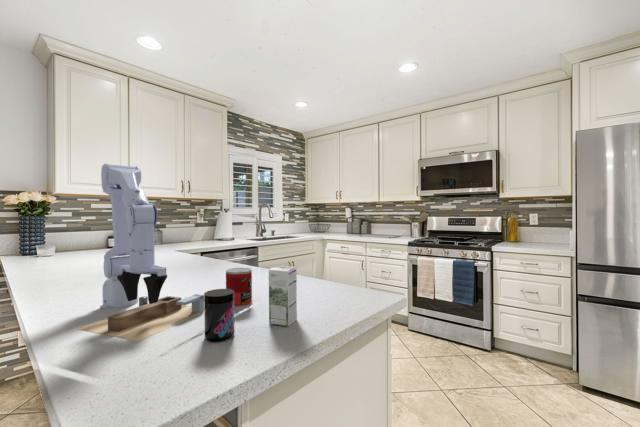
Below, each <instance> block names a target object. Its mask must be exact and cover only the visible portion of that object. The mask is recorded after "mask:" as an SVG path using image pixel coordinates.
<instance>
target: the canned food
mask: <svg viewBox="0 0 640 427" xmlns="http://www.w3.org/2000/svg"><path fill="white" fill-rule="evenodd" d="M252 276H253V275H252V268H249V267H232V268H227V269H226V270H225V289H232V290H234V307H241V306H247V305H249V304H251V303H252V302H253V293H252V292H253V289H252V288H253V279H252V278H253V277H252Z"/></svg>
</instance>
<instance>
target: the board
mask: <svg viewBox="0 0 640 427" xmlns="http://www.w3.org/2000/svg"><path fill="white" fill-rule="evenodd" d="M181 306H182V308H181V309H179V310H176V311H174V312H171V313H169V314H163V315H160V316H158V317H155V318H153V319H150V320H148V321H145V322H143V323H140V324H138V325H135V326H132V327H130V328H127V329H125V330H122V331H120V332H114V331H109V330H108V317H107V318H105V319H102V320H98V321H96V322H92V323H90V324H86V325H84V326H80V327H78V328H76V330H79V331H84V332H89V333H94V334H97V335H98V334H99V335H103V336H110V337H114V338H119V339H123V340H124V339H125V340H130V341H134V342H142V341H144V340H146V339H147V338H150V337H152V336H154V335H157V334H159V333H161V332H164V331H165V330H167V329H170V328H172V327H174V326H177V325H178V324H181V323H183V322H185V321H188V320H190V319H192V318H194V317H197V316H198V315H201V314H203V313H204V311H203V312H200V313H197V312H192V305H191V306H189V305H181Z"/></svg>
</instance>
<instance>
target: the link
mask: <svg viewBox="0 0 640 427" xmlns="http://www.w3.org/2000/svg"><path fill="white" fill-rule="evenodd" d="M179 300H182V297H180V296H170V295H166V296H164V297H161V298H160V297H159V298H158V302H156V303H153V304H149V303H148V304H146V305H143V306H140V307H139V306H137V307H134V308H131V309H128V310H125V311H122V312H119V313H115V314H114V315H110V316H107V318H108V330H109V331H114V332H120V331H122V330H125V329H127V328H130V327H132V326H135V325H138V324H140V323H143V322H145V321H148V320H150V319H153V318H155V317H158V316H160V315H163V314H169V313H171V312H174V311H176V310H179V309H181V308H182V306H181V305H178V304H177V301H179Z"/></svg>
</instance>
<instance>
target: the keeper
mask: <svg viewBox="0 0 640 427" xmlns="http://www.w3.org/2000/svg"><path fill="white" fill-rule="evenodd" d="M177 304H178V305H184V306H188V305H190V304H191V306H192V312H197V313H200V312H203V311H204V294H197V293H196V294H194V295H191V296H188V297H185V298H181V300H179V301H177ZM203 313H204V312H203Z"/></svg>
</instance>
